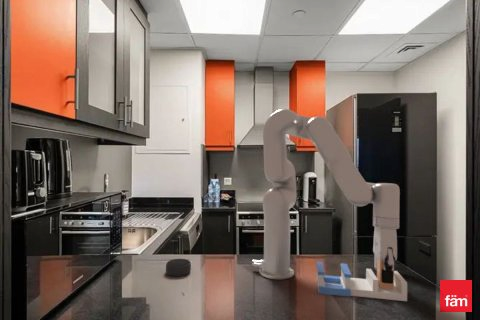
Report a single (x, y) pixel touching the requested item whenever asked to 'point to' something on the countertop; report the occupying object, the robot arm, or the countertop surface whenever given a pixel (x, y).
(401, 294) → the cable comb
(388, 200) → the robot arm
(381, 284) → the cord plug
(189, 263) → the smart speaker
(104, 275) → the countertop surface
